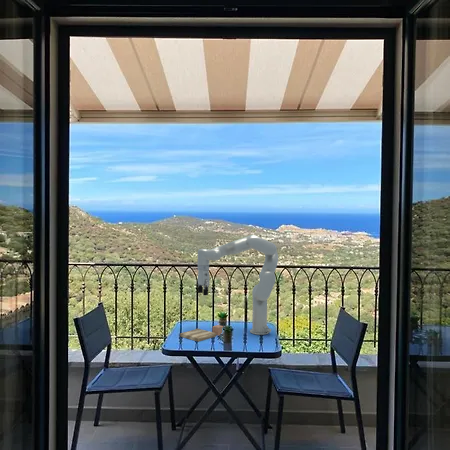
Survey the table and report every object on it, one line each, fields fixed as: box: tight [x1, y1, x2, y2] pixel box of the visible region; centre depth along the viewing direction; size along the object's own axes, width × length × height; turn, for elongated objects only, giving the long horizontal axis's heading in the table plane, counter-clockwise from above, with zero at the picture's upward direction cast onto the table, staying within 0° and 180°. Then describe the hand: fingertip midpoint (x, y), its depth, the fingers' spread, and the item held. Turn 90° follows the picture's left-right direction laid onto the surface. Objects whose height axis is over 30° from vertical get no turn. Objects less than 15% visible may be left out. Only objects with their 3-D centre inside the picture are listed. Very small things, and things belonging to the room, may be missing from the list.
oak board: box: [179, 328, 217, 343], centre depth 247 cm, size 16×16×2 cm
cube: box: [212, 324, 224, 336], centre depth 254 cm, size 5×5×5 cm
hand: (203, 294), depth 257 cm, fingers open, 9 cm apart
